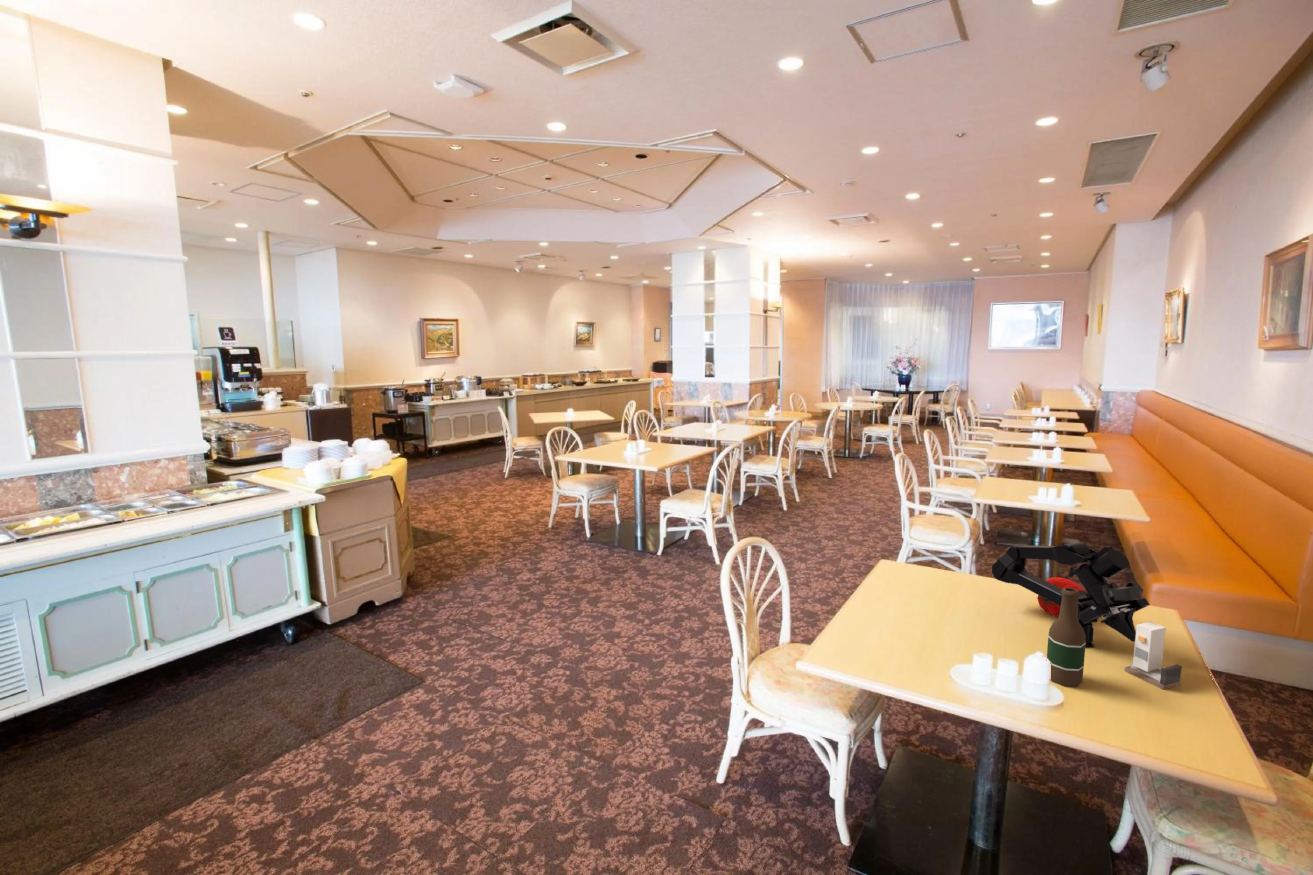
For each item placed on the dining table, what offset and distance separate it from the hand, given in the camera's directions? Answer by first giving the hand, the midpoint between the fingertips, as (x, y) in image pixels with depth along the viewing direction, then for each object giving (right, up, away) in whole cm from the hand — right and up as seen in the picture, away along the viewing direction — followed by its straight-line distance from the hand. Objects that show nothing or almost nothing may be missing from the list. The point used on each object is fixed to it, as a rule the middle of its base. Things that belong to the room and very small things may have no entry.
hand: (1135, 640), depth 156 cm
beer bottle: (-21, -9, -3) cm, 23 cm away
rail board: (+2, -8, -3) cm, 9 cm away
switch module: (+1, -6, -2) cm, 6 cm away
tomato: (+3, -3, +33) cm, 33 cm away
